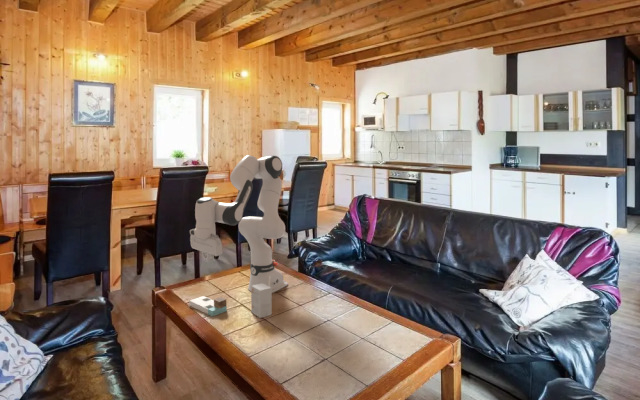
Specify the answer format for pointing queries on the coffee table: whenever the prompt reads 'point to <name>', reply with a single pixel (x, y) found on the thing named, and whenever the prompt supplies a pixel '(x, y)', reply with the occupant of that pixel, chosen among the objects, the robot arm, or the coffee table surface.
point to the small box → (261, 300)
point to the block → (220, 302)
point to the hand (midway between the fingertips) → (206, 260)
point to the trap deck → (206, 306)
